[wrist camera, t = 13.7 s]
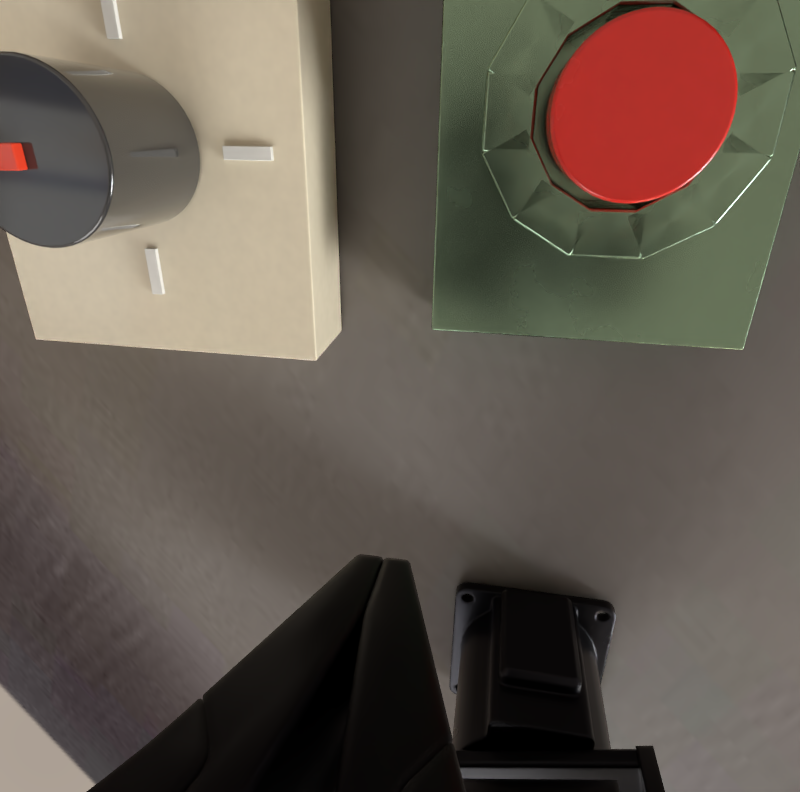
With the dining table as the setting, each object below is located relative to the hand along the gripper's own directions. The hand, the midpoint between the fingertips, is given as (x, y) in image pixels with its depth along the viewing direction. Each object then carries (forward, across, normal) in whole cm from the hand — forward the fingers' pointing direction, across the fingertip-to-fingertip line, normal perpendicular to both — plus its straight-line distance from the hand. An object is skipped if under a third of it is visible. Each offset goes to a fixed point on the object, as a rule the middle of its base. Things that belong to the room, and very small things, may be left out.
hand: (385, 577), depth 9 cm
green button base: (+12, -4, -7) cm, 14 cm away
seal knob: (+9, +9, -6) cm, 14 cm away
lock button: (+8, -4, -7) cm, 12 cm away
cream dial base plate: (+12, +9, -6) cm, 16 cm away
